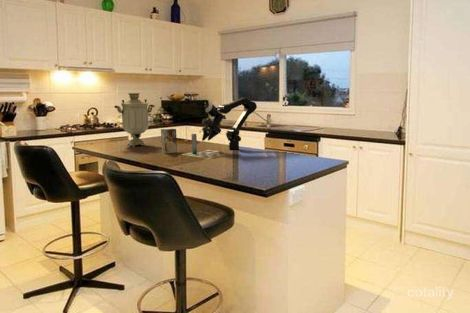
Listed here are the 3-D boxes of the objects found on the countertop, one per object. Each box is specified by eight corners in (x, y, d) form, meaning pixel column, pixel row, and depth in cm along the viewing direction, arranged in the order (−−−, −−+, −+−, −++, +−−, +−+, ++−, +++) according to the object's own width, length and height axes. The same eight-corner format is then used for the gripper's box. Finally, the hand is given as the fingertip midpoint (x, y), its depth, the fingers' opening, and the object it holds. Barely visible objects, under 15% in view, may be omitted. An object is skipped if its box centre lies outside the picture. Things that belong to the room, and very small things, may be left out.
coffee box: (174, 151, 280) (173, 128, 277) (177, 152, 274) (176, 129, 271) (161, 152, 276) (160, 129, 273) (164, 153, 270) (163, 130, 267)
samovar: (155, 141, 327) (152, 92, 319) (157, 146, 302) (155, 93, 295) (117, 143, 319) (113, 93, 312) (117, 148, 294) (113, 94, 287)
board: (223, 157, 253) (223, 151, 253) (210, 160, 244) (210, 153, 243) (194, 153, 269) (193, 147, 269) (181, 155, 260) (180, 149, 260)
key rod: (198, 153, 262) (197, 133, 259) (195, 154, 259) (195, 134, 256) (193, 153, 263) (192, 133, 260) (191, 154, 260) (190, 134, 257)
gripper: (201, 115, 274) (190, 134, 270) (213, 112, 257) (201, 133, 253) (214, 124, 278) (203, 143, 274) (226, 122, 262) (214, 142, 258)
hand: (205, 140), depth 265 cm, fingers open, 9 cm apart
